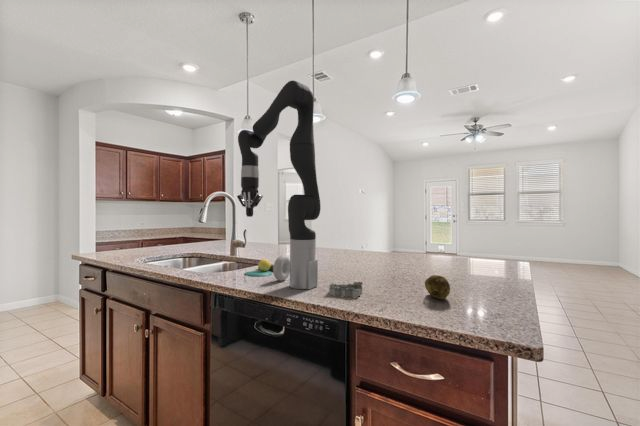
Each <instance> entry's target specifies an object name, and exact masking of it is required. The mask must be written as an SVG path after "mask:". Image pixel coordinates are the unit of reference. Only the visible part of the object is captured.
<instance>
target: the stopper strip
mask: <svg viewBox="0 0 640 426" xmlns="http://www.w3.org/2000/svg"><path fill="white" fill-rule="evenodd" d="M273 266H274V264H271V267H270V269H269V270H268V271H270V272H273ZM257 269H258V270H260V269H259V267H258V266H257Z"/></svg>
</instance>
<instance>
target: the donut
mask: <svg viewBox="0 0 640 426" xmlns="http://www.w3.org/2000/svg"><path fill="white" fill-rule="evenodd" d="M273 265H274V266H273V271H272V274H273V276H274V278H275V280H277V281H279V282H282V281H285V280H286V279H288V277H290V257H288V256H287V255H283V254H282V255H279V256H278V257H277V258H276V259H275V260H274V263H273Z"/></svg>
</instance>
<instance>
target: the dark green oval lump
mask: <svg viewBox="0 0 640 426" xmlns="http://www.w3.org/2000/svg"><path fill="white" fill-rule="evenodd" d="M424 286H425V290H426V291H427V292H428V294H430V295H431V296H432V297H433V298H434V299H438V300H444V299H447V297H448V296H449V294H450V293H451V285H450V283H449V281H448V280H447V278H446V277H444V276H441V275H435V274H433V275H430V276H429V277H428V278H426V279H425V280H424Z"/></svg>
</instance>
